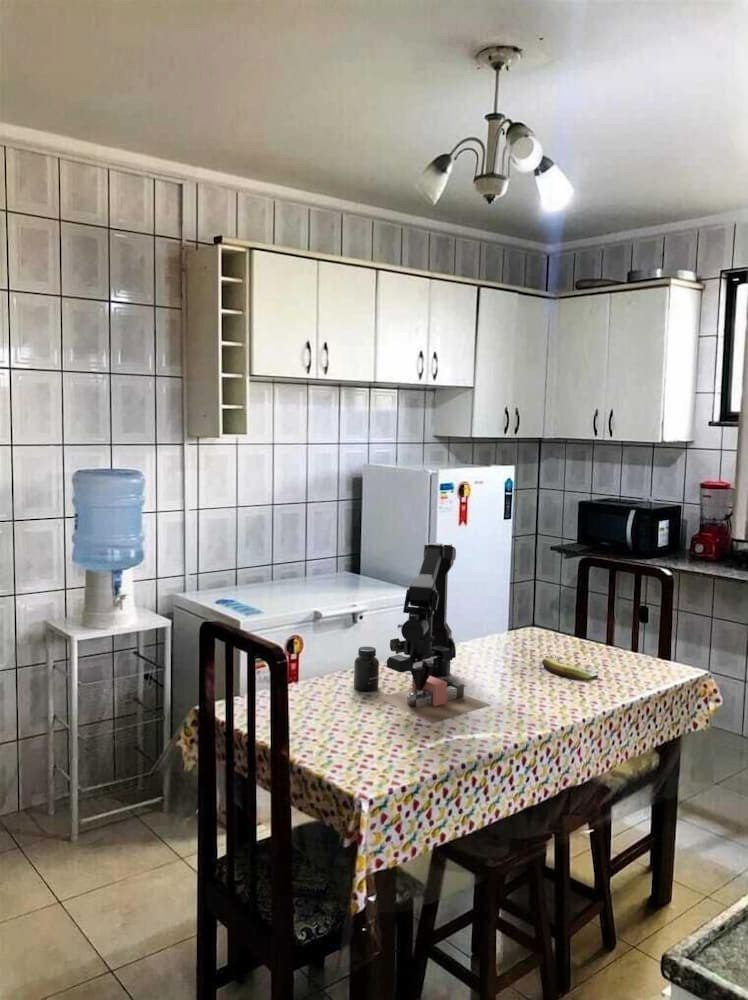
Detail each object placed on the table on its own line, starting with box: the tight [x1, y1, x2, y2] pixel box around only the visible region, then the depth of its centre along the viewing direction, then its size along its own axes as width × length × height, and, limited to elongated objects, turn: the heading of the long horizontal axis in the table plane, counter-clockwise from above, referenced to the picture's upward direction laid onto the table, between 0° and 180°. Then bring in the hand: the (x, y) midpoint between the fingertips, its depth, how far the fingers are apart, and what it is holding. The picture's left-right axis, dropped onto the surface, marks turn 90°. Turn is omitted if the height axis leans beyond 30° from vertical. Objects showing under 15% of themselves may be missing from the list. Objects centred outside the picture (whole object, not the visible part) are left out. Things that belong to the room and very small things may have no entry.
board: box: [376, 688, 491, 724], centre depth 221 cm, size 21×22×1 cm
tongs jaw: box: [416, 681, 465, 707], centre depth 220 cm, size 15×3×3 cm, turn 127°
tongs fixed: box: [407, 677, 455, 707], centre depth 222 cm, size 16×4×4 cm, turn 130°
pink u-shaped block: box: [411, 676, 447, 706], centre depth 221 cm, size 4×9×6 cm, turn 40°
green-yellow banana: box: [540, 654, 599, 691], centre depth 249 cm, size 35×27×4 cm
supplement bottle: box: [353, 646, 380, 693], centre depth 230 cm, size 7×7×12 cm
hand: (419, 690), depth 218 cm, fingers closed
